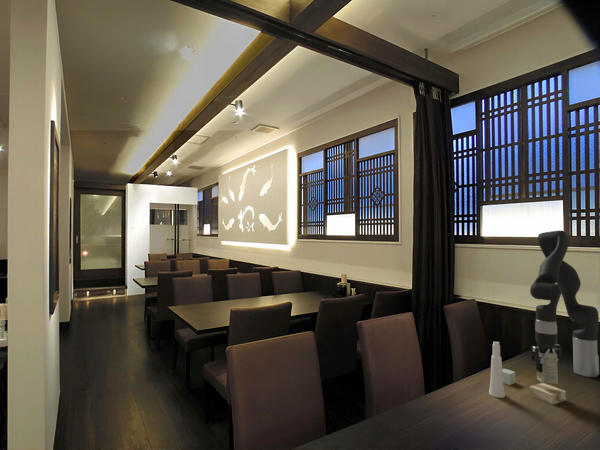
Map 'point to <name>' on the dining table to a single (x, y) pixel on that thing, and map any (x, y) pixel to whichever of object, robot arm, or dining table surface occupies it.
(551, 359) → the skincare box
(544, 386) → the maple block
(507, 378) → the greygreen block
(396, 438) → the dining table surface
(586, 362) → the robot arm
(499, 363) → the cosmetic bottle
